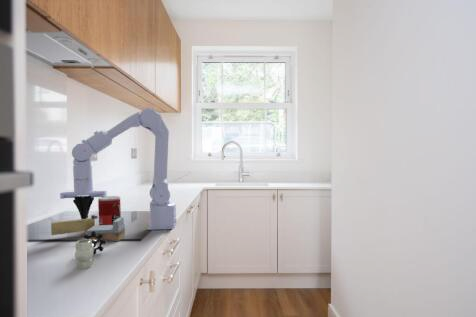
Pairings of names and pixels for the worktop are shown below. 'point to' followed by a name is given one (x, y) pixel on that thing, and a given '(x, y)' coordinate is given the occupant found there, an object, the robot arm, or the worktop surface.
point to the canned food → (109, 209)
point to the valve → (87, 250)
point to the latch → (72, 225)
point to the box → (110, 236)
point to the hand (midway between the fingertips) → (84, 218)
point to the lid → (108, 227)
